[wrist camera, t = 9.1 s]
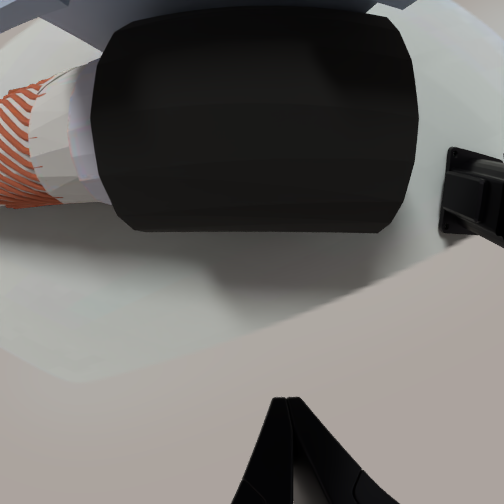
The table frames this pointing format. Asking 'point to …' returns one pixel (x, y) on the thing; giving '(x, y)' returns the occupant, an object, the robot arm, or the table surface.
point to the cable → (224, 124)
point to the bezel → (141, 12)
